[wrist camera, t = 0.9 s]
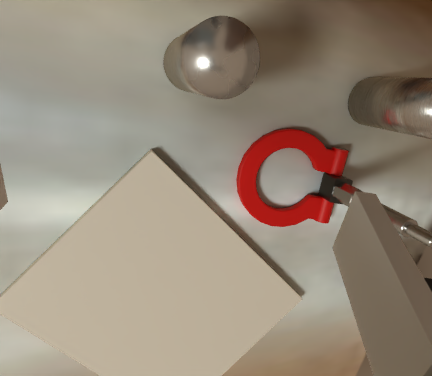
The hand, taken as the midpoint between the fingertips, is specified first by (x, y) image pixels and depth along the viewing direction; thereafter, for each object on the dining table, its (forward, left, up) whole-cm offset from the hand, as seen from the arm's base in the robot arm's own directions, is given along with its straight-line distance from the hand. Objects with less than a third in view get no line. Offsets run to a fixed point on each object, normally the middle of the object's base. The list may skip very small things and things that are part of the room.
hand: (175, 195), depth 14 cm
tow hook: (+5, +12, -15) cm, 20 cm away
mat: (+14, 0, -15) cm, 21 cm away
